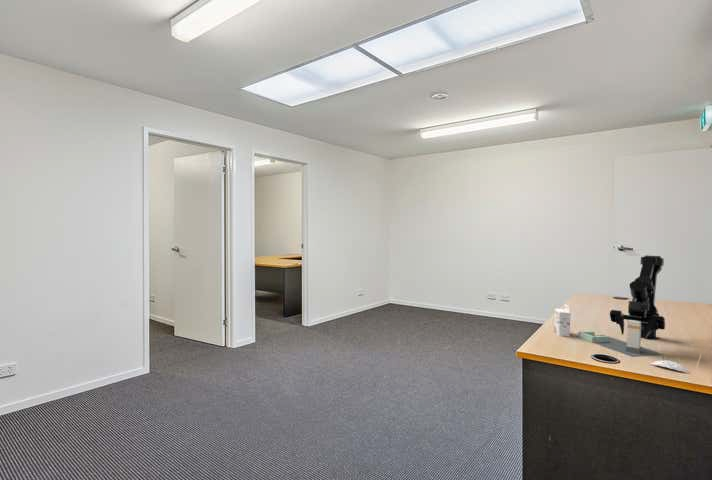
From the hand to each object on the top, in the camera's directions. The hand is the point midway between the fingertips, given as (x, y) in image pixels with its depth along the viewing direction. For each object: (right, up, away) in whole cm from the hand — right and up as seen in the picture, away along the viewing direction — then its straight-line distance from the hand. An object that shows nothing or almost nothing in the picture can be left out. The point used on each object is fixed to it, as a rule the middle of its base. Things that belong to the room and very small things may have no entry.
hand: (633, 335), depth 162 cm
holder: (-5, -6, +18) cm, 20 cm away
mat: (0, -7, +10) cm, 12 cm away
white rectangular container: (+1, -7, +1) cm, 7 cm away
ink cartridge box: (-15, -6, +27) cm, 32 cm away
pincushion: (0, -8, -18) cm, 20 cm away
